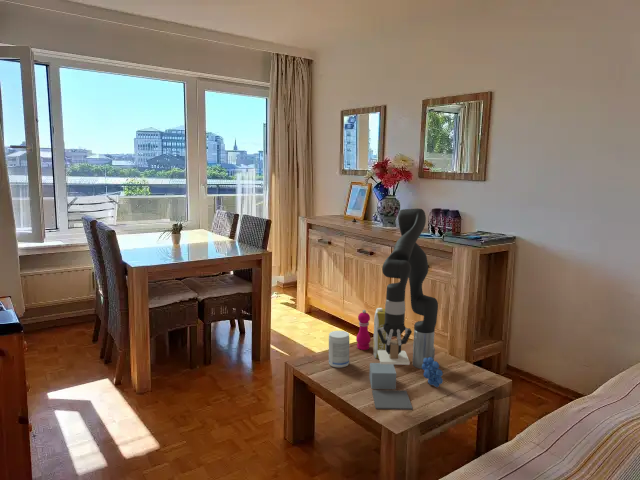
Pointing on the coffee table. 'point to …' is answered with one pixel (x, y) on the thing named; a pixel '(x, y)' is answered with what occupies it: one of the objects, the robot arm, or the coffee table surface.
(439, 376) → the grapes
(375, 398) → the rubber mat
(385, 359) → the lid
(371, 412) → the coffee table surface
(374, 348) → the juice carton
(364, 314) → the pepper mill
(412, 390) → the coffee table surface
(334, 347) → the supplement tub
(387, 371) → the storage box
